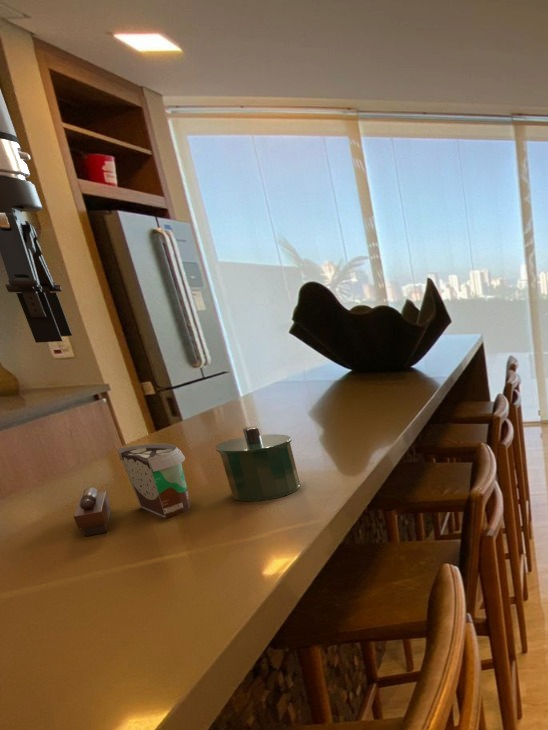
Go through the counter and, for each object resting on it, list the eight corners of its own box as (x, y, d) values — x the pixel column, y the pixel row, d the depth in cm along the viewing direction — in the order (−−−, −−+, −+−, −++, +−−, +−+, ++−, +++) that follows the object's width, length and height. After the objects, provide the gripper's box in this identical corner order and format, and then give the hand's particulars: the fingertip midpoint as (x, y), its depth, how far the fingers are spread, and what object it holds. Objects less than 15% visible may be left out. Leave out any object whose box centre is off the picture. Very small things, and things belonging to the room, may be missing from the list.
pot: (230, 490, 101) (216, 444, 98) (294, 478, 107) (283, 434, 104) (236, 505, 94) (221, 456, 90) (305, 492, 100) (293, 445, 96)
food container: (214, 507, 93) (195, 449, 89) (170, 520, 88) (149, 458, 84) (179, 494, 99) (161, 439, 95) (137, 505, 94) (115, 447, 90)
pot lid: (214, 447, 98) (208, 427, 97) (286, 437, 104) (281, 417, 103) (220, 461, 90) (213, 439, 89) (297, 449, 97) (292, 428, 95)
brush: (88, 514, 91) (77, 485, 89) (113, 509, 92) (102, 481, 91) (82, 538, 82) (69, 506, 80) (109, 532, 84) (97, 502, 82)
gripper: (17, 165, 70) (81, 342, 78) (44, 191, 88) (94, 332, 96) (-75, 158, 66) (4, 346, 74) (-26, 186, 84) (33, 335, 92)
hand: (55, 339), depth 85 cm, fingers open, 13 cm apart
